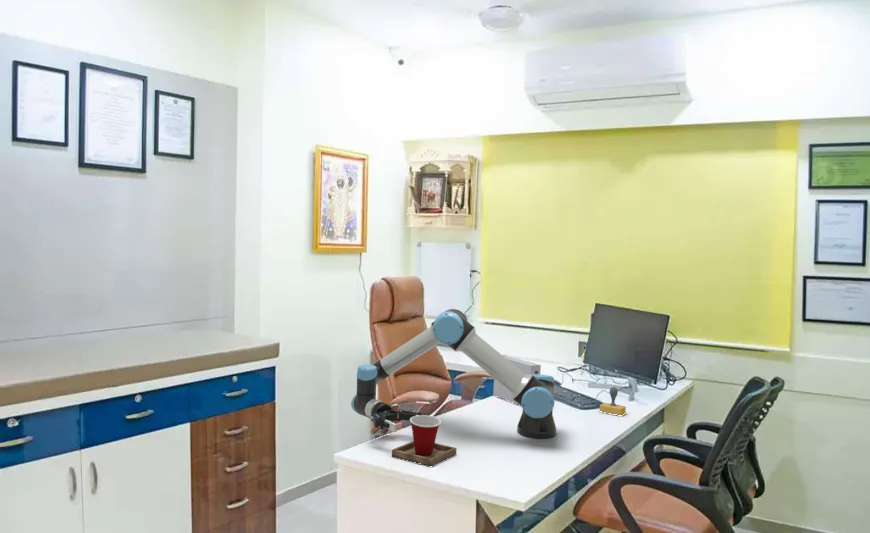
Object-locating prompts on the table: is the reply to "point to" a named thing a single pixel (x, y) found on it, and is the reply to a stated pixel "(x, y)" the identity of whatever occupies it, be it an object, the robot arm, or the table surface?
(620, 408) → the rubber stamp
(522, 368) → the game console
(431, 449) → the plastic cup
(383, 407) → the robot arm
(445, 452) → the cup tray
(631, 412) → the table surface
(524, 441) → the table surface
